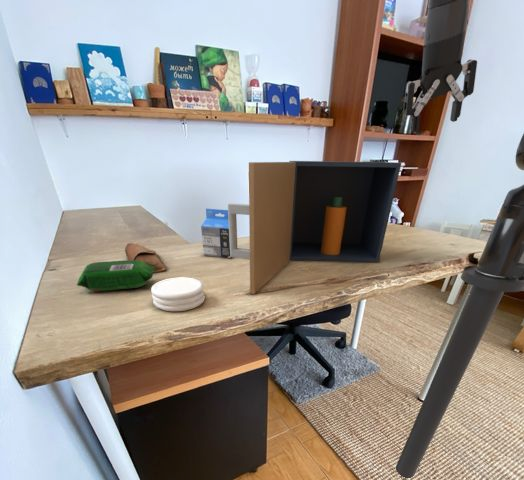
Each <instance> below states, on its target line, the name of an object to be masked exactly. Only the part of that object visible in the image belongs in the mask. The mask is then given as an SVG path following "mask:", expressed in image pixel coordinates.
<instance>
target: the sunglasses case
mask: <svg viewBox="0 0 524 480" xmlns="http://www.w3.org/2000/svg"><path fill="white" fill-rule="evenodd" d="M124 252H125V256H126V258H127V260H137V261H142V262H144V263H146V264H148V265H150V266H154V267H155V268H156V269H158V270H154V271H153V272H152V274H155V273H160V272H164V271H166V267H165V265H164V263H163V262H162V260H161V259H160V258H159V256H158V254H157V251H155V250H153V249H150V248H147V247H145V246H143V245H140V244H137V243H134V242H133V243H132V242H130V243H127V244H126V246H125V248H124Z"/></svg>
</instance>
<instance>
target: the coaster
mask: <svg viewBox="0 0 524 480" xmlns="http://www.w3.org/2000/svg"><path fill="white" fill-rule="evenodd" d="M204 288H205V286H204V284H203V282H202V281H200V280H199V279H197V278H192V277H180V276H179V277H171V278H166V279H163V280H160V281H157V282H155V283H154V284H152V286H151V287H150V292H151V297H152V302H153V305H154V306H155V307H156V308H157V309H160V310H161V311H166V312H184V311H189V310H192V309H196V308H197V307H199V306H201V305H202V304H203V303H204V302H205V299H206V296H205V290H204Z"/></svg>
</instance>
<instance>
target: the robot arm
mask: <svg viewBox="0 0 524 480" xmlns="http://www.w3.org/2000/svg"><path fill="white" fill-rule="evenodd" d="M469 13H470V0H428V5H427V15H426V20H425V26H424V36H423V37H424V39H423V50H422V51H423V52H422V64H421V75H420V78H419V79H417V80H413V81H410V80H408V81H407V82H406V84H405V89H404V97H403V98H404V99H403V110H402V113H403V114H404V115H406V116H407V117H409V116H411V121H410V131H411V132H412V133H413V134H414V135H417V134H419V133H420V123H421V114H420V113H421V112H422V110H423V108H424V107H425V106H426V105H427V104H428V102H429V101H430V99H432V100H433V99H436V98H438V97H439V96H445V95H447V94H448V93H449V94H450V95H451V97H452V99H453V101H452V104H451V111H450V117H449V118H450V119H449V120H450V122H453V123H454V122H457V121H458V118H460V117H461V113H462V107H463V101H464V100H465V98H467V97H468V96H471V95H472V94H473V93H474V91H475V82H476V75H477V68H478V60H476V59H468V60H467V61H466V62H464V63H462V59H463V53H464V46H465V39H466V34H467V27H468V24H469ZM461 73H462V75H463V76H464V77H463V85H462V89H461V87H460V85H459V84H458V83H457V82H456V81H457V80H458V79H459V78H460V75H461ZM418 88H420V90H421V91H420V93H419V95H418V97H417V99H416V101H415V103H414V97H415V93H416V92H417V90H418ZM515 165H516V167H517V168H518V169H519V170H521V171H524V133H522V136H521V138H520V141H519V142H518V145H517V149H516V152H515ZM495 219H496V220H495V222H494V224H493V227H492V229H491V232H490V234H489V237H488V238H487V241H486V243H485V246H484V248H483V251H482V253H481V255H480V258H479V261H478V262H477V264H476V265H477V267H476V269H475V271H476V272H477V273H478V274H481V275H484V276H487V277H491V278H497V279H505V280H512V279H514V278H516V277H519V278H518V280H519V281H521V280H524V277H523V276H524V184H522V185H521V186H518V187H515V188H512V189H510V190H509V191H508V192H507V194H506V196H505V198H504V201H503V202H502V205H501V208H500V210H499V212H498V215H497V217H496V218H495Z"/></svg>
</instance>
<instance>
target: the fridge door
mask: <svg viewBox="0 0 524 480" xmlns="http://www.w3.org/2000/svg"><path fill="white" fill-rule="evenodd" d="M295 165H296V162H289V161H251V162H250V161H249V162H248V203H246V204H245V203H231V202H230V203H227V210H228V221H229V242H230V257H232V258H234V259H242V260H243V259H244V260H249V293H250V294H253V295H255V294H256V293H257V292H258V291H260V289H261V288H262V287H264V286H265V285H266V284H267V283H268V282H269V281H270V280H271V279H272V278H273V277H275V275H276V274H277V273H278V272H279V271H281V270H282V269H283V268H284V267H285V266H286V265H287V264H288V263H289V262H291V261H290V245H291V229H292V213H293V197H294V181H295ZM237 215H244V216H248V218H249V219H248V220H249V221H248V222H249V223H248V224H249V230H248V231H249V248H241V247H238V225H237V224H238V222H237V221H238V220H237Z"/></svg>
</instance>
